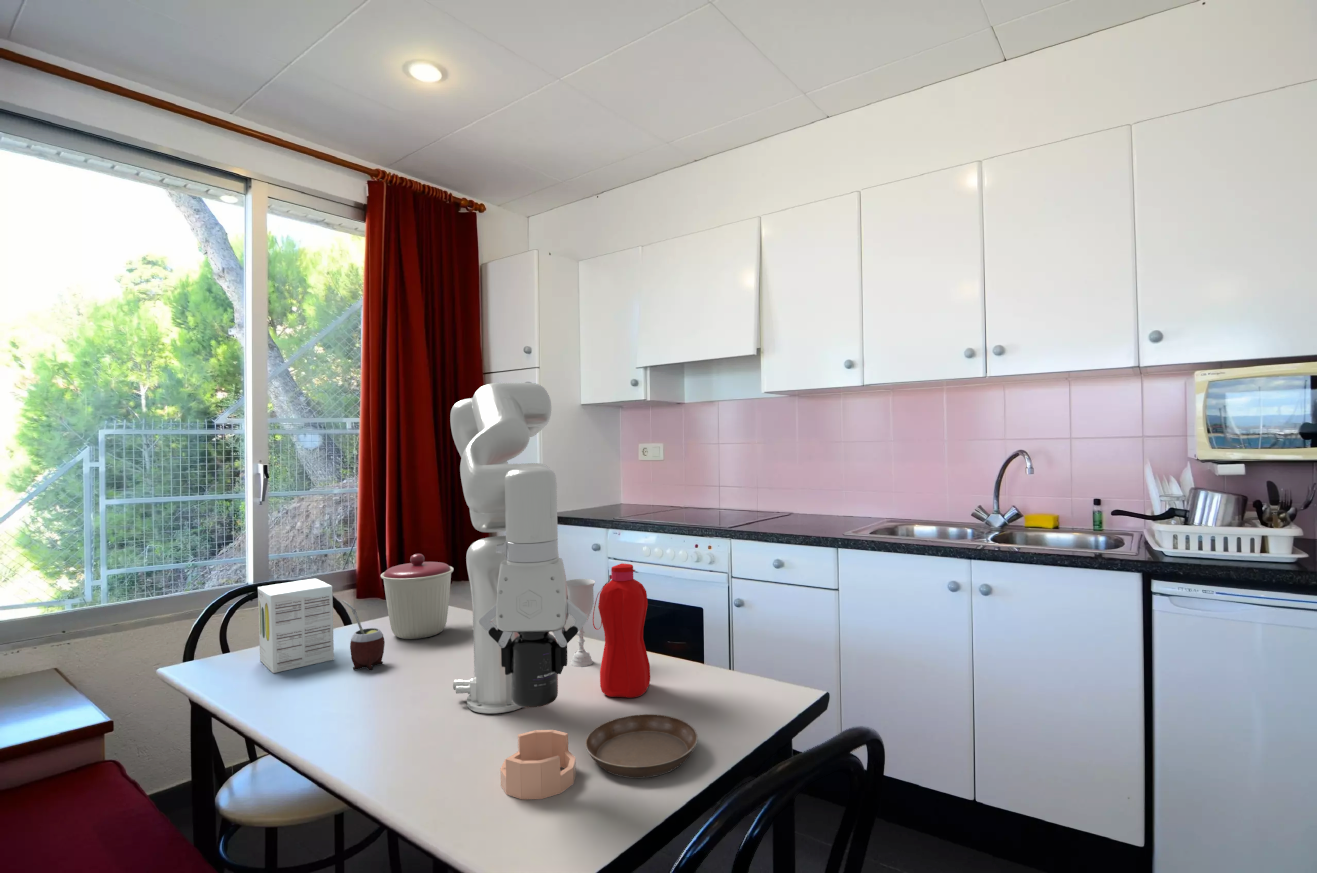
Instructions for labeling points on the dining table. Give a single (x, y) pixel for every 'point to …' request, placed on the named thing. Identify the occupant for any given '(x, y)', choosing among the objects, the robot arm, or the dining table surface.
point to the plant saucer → (641, 745)
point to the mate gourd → (366, 646)
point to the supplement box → (295, 624)
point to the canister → (417, 597)
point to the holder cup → (539, 766)
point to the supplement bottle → (533, 669)
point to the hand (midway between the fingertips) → (534, 670)
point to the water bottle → (623, 635)
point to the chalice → (584, 600)
